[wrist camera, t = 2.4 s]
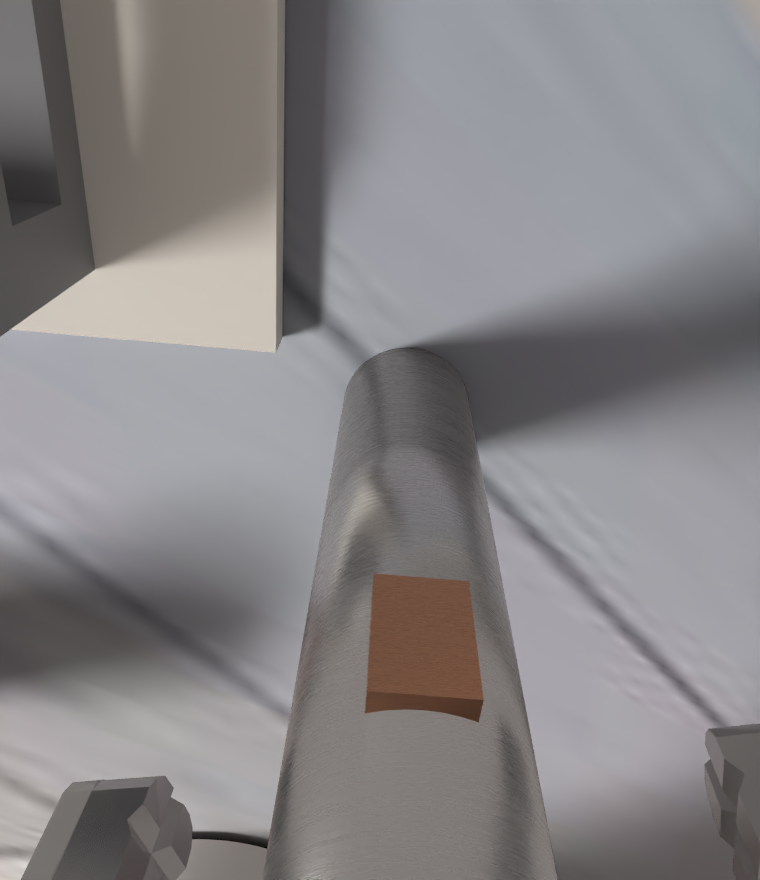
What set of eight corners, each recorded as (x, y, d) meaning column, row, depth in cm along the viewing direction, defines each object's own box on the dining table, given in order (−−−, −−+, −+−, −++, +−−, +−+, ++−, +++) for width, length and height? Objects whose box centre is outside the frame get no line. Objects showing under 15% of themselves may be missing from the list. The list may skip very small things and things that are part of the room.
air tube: (458, 464, 23) (544, 1099, 9) (340, 454, 23) (243, 1079, 9) (478, 345, 21) (630, 939, 7) (347, 333, 21) (235, 909, 7)
